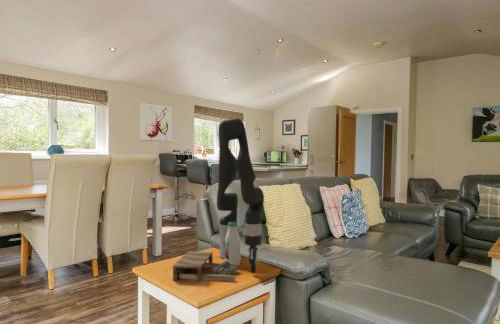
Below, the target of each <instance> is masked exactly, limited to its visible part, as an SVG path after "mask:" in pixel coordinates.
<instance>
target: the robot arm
mask: <svg viewBox="0 0 500 324" xmlns="http://www.w3.org/2000/svg"><path fill="white" fill-rule="evenodd" d="M234 140H237V141H238V145H239V148H238V149H239V150H238V155H237V158H236V157H235V155H234V154H233V152H232V151H231V149H230V146H229V145H230V141H234ZM218 145H219V151H218V153H219V155H218V158H219V159H218V174H217V175H218V181H217V182H218V186H217V196H216V208H217V210H218V211H221V212H229V211H230V213H228V214H227V215H224V216H222V217H220V218H219V258H221V259H224V260H225V237H226V234H227V232H228V222H237V223H238V206H239V205H238V204H239V198H238V197H239V196H238V194H237V193H235V192H226V191H227V189H228V188H229V186H230V185H231V184H232V183H233V182H234V180H235V179H236V178H237V175H238V178H239V181H240V193H241V198H242V200H243V202H244V203H245V204H246V205H249V206H248V208H247V210H246V211H245V214H244V215H245V217H244V222H245V225H244V244H245V246H249V248H248V249H247V250H248V251H247V252H248V262H249V263H248V264H249V265H250V274H251V273H252V274H256V272H257V260H258V251H259V248H258V246H260V245H262V243H263V242H262V241H263V239H262V238H263V235H262V233H263V229H262V228H263V227H262V210H263V207H264V203H265V202H264V201H265V195H264V192H263V190H262V189H261V188H260V187H255V185H254V184H255V183H254V182H255V181H256V179H257V178H256V173H255V171H254V167H253V165H252V160H251V157H250V151H249V143H248V138H247V131H246V127H245V124H244V122H243V120H242V119H241V118H233V119H232V118H231V119H225V120H222V121H220V122H219V124H218Z"/></svg>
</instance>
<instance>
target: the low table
mask: <svg viewBox="0 0 500 324" xmlns="http://www.w3.org/2000/svg"><path fill="white" fill-rule="evenodd" d="M222 263H223V262H213V252H212V251H211V252H210V251H187V252H186V253H185V254H183V256H182V257H181V258H180V259H178V260H177V261H176V262H175V263H174V264H173V265H172V280H173V281H176V282H177V281H178V278H179V279H180V280H197V281H196V282H199V283H200V282H202V281H223V282H236V275H232V274H231V275H213V274H209V273H208V274H206V273H202V272H203V271H202V268H207V269H208V268H209V269H214V268H216V267H218V266H219V265H222ZM233 265H234V266H235V265H236V266H238V267H236V270H241V263H240V264H231V266H233ZM186 269H196V271H197V272H196V273H185V271H186Z"/></svg>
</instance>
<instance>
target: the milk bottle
mask: <svg viewBox="0 0 500 324" xmlns="http://www.w3.org/2000/svg"><path fill="white" fill-rule="evenodd" d="M241 253H242V251H241V237H240V234H239V231H238V221H237V222H228V232H227V234H226V237H225V259H224V262H225V261H227V262H229V263H231V264H241V261H242V260H241Z"/></svg>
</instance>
